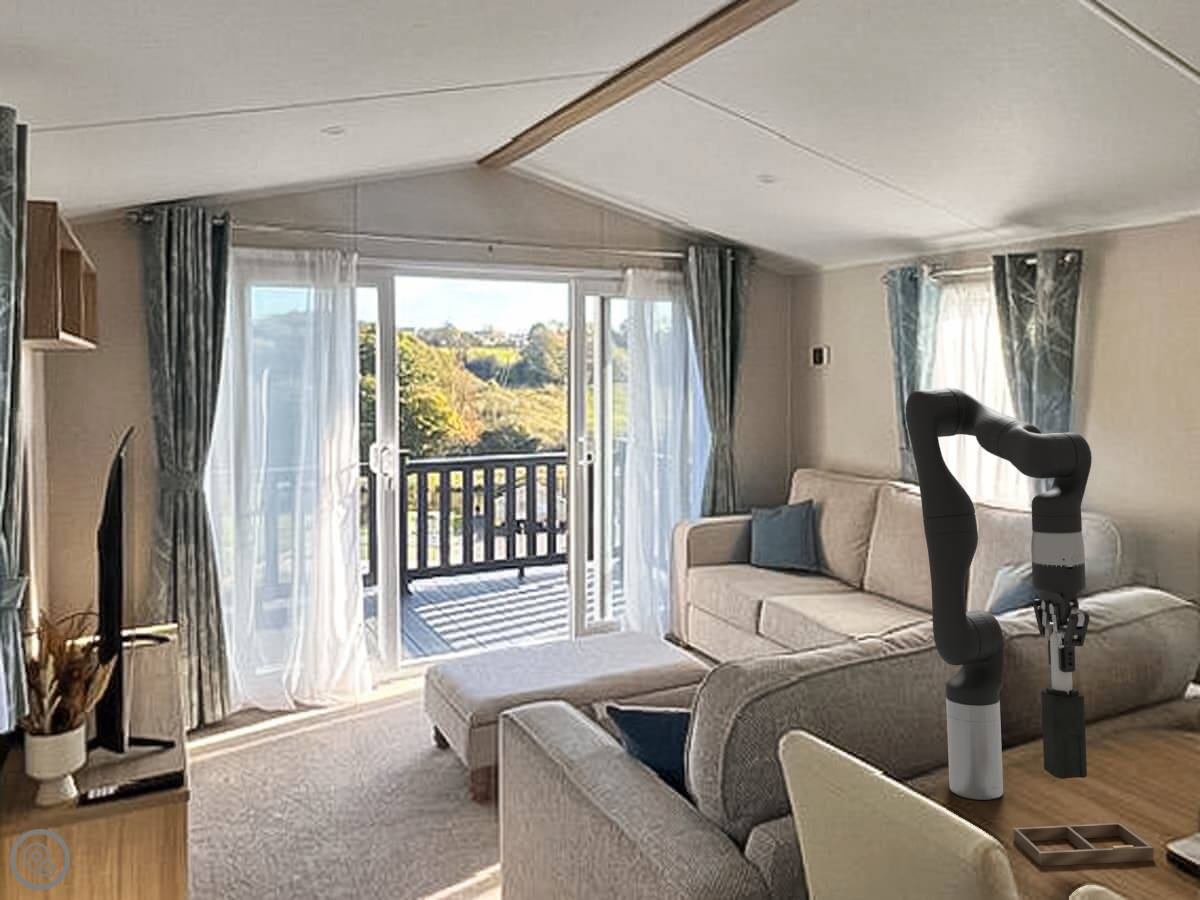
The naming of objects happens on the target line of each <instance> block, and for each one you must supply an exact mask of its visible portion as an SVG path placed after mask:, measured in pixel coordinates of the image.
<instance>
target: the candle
mask: <svg viewBox="0 0 1200 900" xmlns="http://www.w3.org/2000/svg"><path fill="white" fill-rule="evenodd" d="M1060 627H1061V628H1064V626H1060ZM1065 634H1066V633H1064V638H1065ZM1058 648H1059V645H1058V637H1057V633H1055V632H1054V631H1053V633H1052V634H1051V636H1050V650H1051V665H1050V669H1051V670H1050V672H1051V673H1050V675H1051V684H1048V685H1046V686H1045V688H1043V689H1041V690H1040V692H1041V694H1040V695H1041V718H1042V719H1041V720H1042V721H1041V722H1042V744H1043V745H1042V748H1043V751H1042V752H1043V769H1044V770H1045V771H1046V772H1047V773H1049V774H1050V775H1051V776H1053V777H1054V778H1057V779H1061V780H1062V779H1063V780H1066V779H1074V778H1075V779H1077V778H1082V779H1083V778H1086V777H1088V771H1087V770H1088V769H1087V765H1088V764H1087V763H1088V762H1087V741H1086V740H1087V739H1086V717H1085V716H1086V713H1085V712H1086V711H1085V695H1084V694H1083V693H1082V692H1079V690H1080V689H1079V688H1078V687H1076V686H1074V685H1073V672H1062V671H1060V670H1059V654H1058Z"/></svg>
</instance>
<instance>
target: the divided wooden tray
mask: <svg viewBox="0 0 1200 900" xmlns="http://www.w3.org/2000/svg"><path fill="white" fill-rule="evenodd" d="M1012 833H1013V842H1015V843H1016V844H1017V846H1019V847H1020V848H1021V849H1022V850H1023V851H1024V852H1025V853H1026V854H1027V855H1028V856H1029V857H1030V858H1032V860H1034V862H1036V863H1037V865H1039V866H1040V867H1055V866H1069V865H1073V866H1074V865H1087V864H1089V865H1090V864H1091V865H1094V864H1108V863H1109V864H1110V863H1111V864H1112V863H1113V864H1114V863H1129V862H1130V863H1131V862H1149V861H1151V862H1152V861H1153V862H1154V859H1155V857H1154V856H1155V854H1154V847H1153V846H1152V845H1150V843H1148V842H1147V841H1145V840H1144V839H1142V837H1140V836H1139V835H1137V834H1135V833H1134V832H1133V831H1131V830H1130V829H1129V828H1127V827H1126V826H1125V825H1124V824H1122V823H1121V822H1111V823H1110V822H1107V823H1106V822H1105V823H1092V824H1091V823H1090V824H1087V823H1085V824H1070V825H1066V824H1065V825H1052V826H1051V825H1049V826H1046V825H1045V826H1031V827H1029V826H1027V827H1013V828H1012ZM1112 836H1117V837H1119V836H1120V837H1121V838H1120V837H1119V838H1120V839H1121V840H1123V841H1124V840H1125V841H1124V842H1126V841H1127V842H1128V843H1129V844H1128V843H1127V842H1126V843H1127V844H1125V845H1123V844H1122V845H1112V847H1108V848H1096V847H1095V846H1094V845H1093V844H1091V842H1089V841H1088V840H1087V839H1093V838H1094V839H1095V838H1110V837H1112ZM1112 838H1113V837H1112ZM1051 840H1052V841H1054V840H1056V841H1057V840H1068V841H1069V842H1070V843H1071V844H1072V845H1073V844H1074V845H1073V846H1075V848H1077V849H1065V850H1050V851H1042V850H1041V849H1040V848H1038V847H1037V846H1036V844H1034V843H1033V842H1036V841H1051ZM1032 841H1033V842H1032Z"/></svg>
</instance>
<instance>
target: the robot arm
mask: <svg viewBox="0 0 1200 900" xmlns="http://www.w3.org/2000/svg"><path fill="white" fill-rule="evenodd" d="M905 422H906V427H907V431H908V437H909V441H910V445H911V446H910V447H911V449H912V454H913V458H914V463H915V467H916V474H917V478H918V479H917V480H918V485H919V494H920V500H921V511H922V522H923V530H924V537H925V541H926V547H927V555H928V556H927V557H928V563H929V564H928V565H929V573H930V574H929V575H930V583H931V584H930V585H931V587H930V588H931V602H932V603H931V607H932V609H931V611H932V612H931V615H932V618H931V619H932V630H933V631H932V633H933V635H932V636H933V640H934V645H935V647H936V650H937V653H938V654H939V656H940V658H941V659H942V660H943V661H944V662H945V663H947V664H948V665H951V666H961V667H960V669H959V670H958V672H957V673H956V674H954V675H953V676H952V677H951V678H949V679H948V680H947V681H946V683H945V703H946V709H945V710H946V723H947V725H946V729H947V751H948V757H947V758H948V776H949V777H948V779H949V780H948V781H949V789H950V791H951V792H952V793H953V794H955V795H957V796H960V797H962V798H967V799H971V800H980V801H982V800H985V801H987V800H993V799H994V800H995V799H998V798H1000V797H1002V796H1003V794H1004V787H1003V785H1004V781H1003V750H1002V749H1003V748H1002V730H1001V729H1002V728H1001V726H1002V725H1001V704H1000V703H1001V702H1000V693H1001V692H1000V691H1001V689H1002V687H1003V684H1004V666H1005V665H1004V664H1005V663H1004V660H1005V659H1004V658H1005V655H1004V654H1005V645H1004V643H1005V642H1004V635H1003V631H1002V627H1001V624H1000V623H999V621H998V619H997V618H996V616H995V615H993V614H992V613H990V612H988V611H986V610H982V609H981V610H977V609H976V610H971V611H966V604H965V602H966V601H965V585H966V580H967V576H968V573H969V571H970V568H971V565H972V562H973V560H974V558H975V554H976V551H977V548H978V543H979V533H978V532H979V531H978V525H977V524H978V523H977V518H976V510H975V506H974V503H973V500H972V499H971V497H970V495H969V494H968V492H967V490H965V488H964V487H963V486H962V485H961V484H960V482H959V481H958V479H957V477H955V476H954V475H953V473H952V472H951V471H950V469H949V467H948V465H947V464H946V462H945V460H944V458H943V454H942V451H941V446H940V442H939V438H944V437H953V436H956V435H963V436H965V435H966V436H972V437H975V439H976V441H977V443H978V444H979V446H980V447H981V448H982V449H984V450H985V451H986V452H987V453H988V454H992V455H994V456H996V457H998V458H1000V459H1002V460H1006V461H1008V462H1010V464H1011V465H1012V466H1013V467H1015V468H1016V470H1018V471H1019V472H1020V473H1021V474H1022V475H1024V476H1027V477H1029V478H1032V479H1033V478H1034V479H1053V482H1052V486H1051V487H1050V489H1049V490H1048V491H1044V492H1042V493H1040V494H1037V495H1035V496H1034V497H1033V498H1032V500H1031V526H1032V527H1031V531H1032V532H1031V533H1032V535H1031V545H1030V546H1031V547H1030V551H1031V578H1032V579H1031V580H1032V587H1033V589H1034V590H1036V591H1039V592H1041V593H1040V594H1041V595H1040V598H1038V599H1032V607H1033V611H1034V615H1035V619H1036V623H1037V627H1038V632H1039V635H1040V636H1042V637H1043V636H1044V640H1045V642H1046V643H1047V653H1048V654H1047V657H1048V659H1047V660H1048V661H1047V662H1048V665H1049V666H1051V650H1050V636H1051V634H1052V633H1053V631H1054V632H1055V633H1057V637H1058V645H1059V648H1058V654H1059V670H1060V671H1062V672H1072V673H1073V672H1075V671H1076V655H1075V654H1076V651H1075V649H1077V648H1079V647H1084V644H1085V640H1086V636H1087V631H1088V627H1089V623H1090V622H1089V621H1090V615H1089V613H1086V612H1083V613H1082V612H1081V610H1080V609H1079V608H1080V604H1079V600H1078V596H1077V595H1078V594H1079V592H1083V591H1084V590H1085V589H1086V584H1087V583H1086V582H1087V581H1086V558H1085V557H1086V555H1085V542H1084V538H1083V537H1084V535H1083V523H1082V521H1083V520H1082V503H1083V499H1084V496H1085V492H1086V488H1087V483H1088V480H1089V476H1090V472H1091V469H1092V462H1093V461H1092V458H1093V457H1092V451H1091V448H1090V445H1089V443H1088V441H1087V439H1086V438H1084V437H1083V435H1081V434H1080V433H1076V432H1067V431H1066V432H1055V433H1054V432H1053V433H1042V431H1041V430H1040V429H1039V428H1038V427H1037V426H1035V425H1033V424H1032V423H1030V422H1027V421H1024V420H1022V419H1018V418H1015V417H1013V416H1009V415H1006V414H1004V413H1001V412H999V411H996V410H995V409H992V408H991V407H989V406H987V405H986V404H984V403H983V402H981V401H979V400H978V399H976V398H975V397H973V396H972V395H971V394H969V393H967V392H966V391H964V390H961V389H959V388H956V387H955V388H954V387H944V388H943V387H942V388H941V387H940V388H926V389H925V388H924V389H917V390H914V391H912V392H911V393H910V394H909V395H908V397H907V400H906V403H905ZM1060 626H1064V628H1061V627H1060ZM1064 633H1066V634H1065V638H1064Z"/></svg>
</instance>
